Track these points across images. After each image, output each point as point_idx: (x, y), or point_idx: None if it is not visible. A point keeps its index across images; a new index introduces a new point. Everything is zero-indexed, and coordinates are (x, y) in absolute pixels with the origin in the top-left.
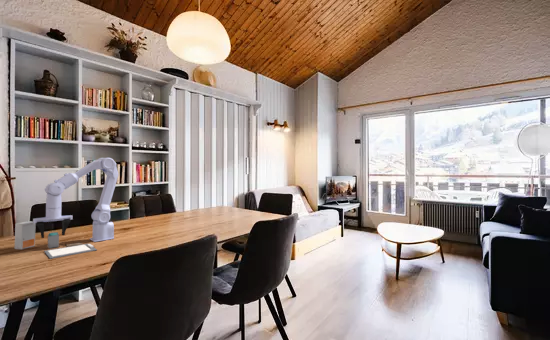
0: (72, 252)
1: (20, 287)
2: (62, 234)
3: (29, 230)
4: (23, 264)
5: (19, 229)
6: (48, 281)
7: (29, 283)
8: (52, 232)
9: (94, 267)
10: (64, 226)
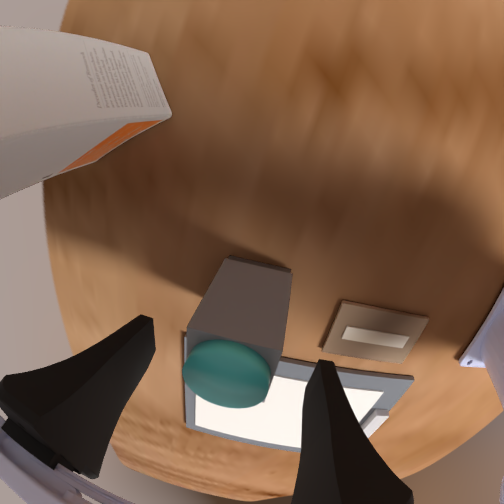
0: (266, 440)
1: (133, 462)
2: (309, 384)
3: (11, 173)
4: None
5: None
6: (167, 476)
7: (143, 464)
8: (225, 356)
9: (248, 493)
10: (301, 482)
